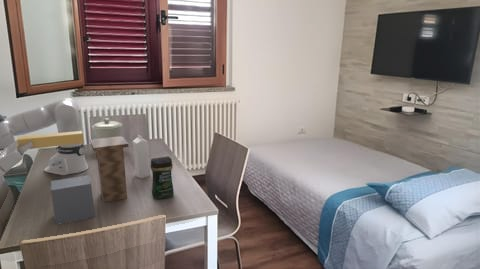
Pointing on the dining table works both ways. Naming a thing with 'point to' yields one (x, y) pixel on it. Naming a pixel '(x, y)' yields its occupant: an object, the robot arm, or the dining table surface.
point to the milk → (141, 157)
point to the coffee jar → (162, 177)
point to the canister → (107, 129)
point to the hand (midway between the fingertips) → (33, 140)
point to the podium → (72, 199)
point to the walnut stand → (111, 167)
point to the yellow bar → (52, 139)
